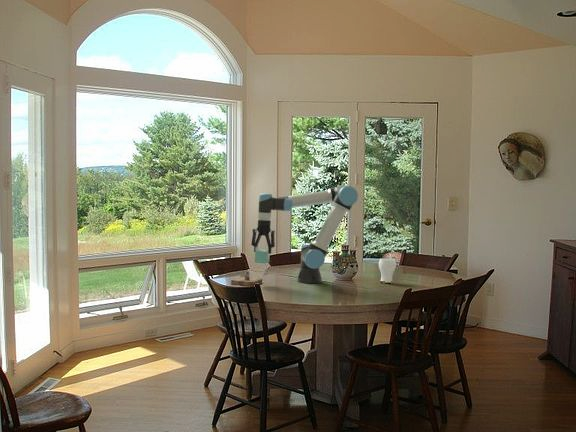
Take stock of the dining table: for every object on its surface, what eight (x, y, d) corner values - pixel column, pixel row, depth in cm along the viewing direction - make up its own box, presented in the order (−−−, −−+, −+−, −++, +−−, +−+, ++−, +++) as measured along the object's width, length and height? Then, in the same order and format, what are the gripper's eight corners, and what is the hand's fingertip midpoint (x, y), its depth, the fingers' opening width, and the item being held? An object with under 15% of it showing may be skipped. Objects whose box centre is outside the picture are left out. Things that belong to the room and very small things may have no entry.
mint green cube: (269, 262, 372) (269, 250, 372) (265, 263, 366) (265, 251, 365) (259, 261, 374) (259, 249, 374) (254, 262, 368) (255, 250, 368)
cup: (396, 282, 394) (398, 259, 393) (392, 285, 384) (393, 260, 383) (380, 281, 398) (381, 257, 398) (375, 283, 389) (376, 259, 388)
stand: (262, 283, 376) (262, 270, 375) (252, 286, 362) (253, 273, 362) (241, 280, 380) (241, 268, 380) (231, 284, 367) (231, 271, 367)
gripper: (282, 220, 369) (279, 259, 370) (251, 218, 375) (249, 256, 377) (277, 221, 362) (275, 260, 363) (246, 218, 368) (244, 257, 370)
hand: (262, 258), depth 370 cm, fingers closed on mint green cube, 7 cm apart
